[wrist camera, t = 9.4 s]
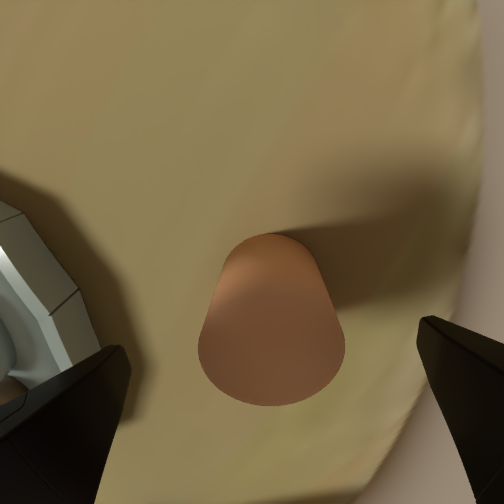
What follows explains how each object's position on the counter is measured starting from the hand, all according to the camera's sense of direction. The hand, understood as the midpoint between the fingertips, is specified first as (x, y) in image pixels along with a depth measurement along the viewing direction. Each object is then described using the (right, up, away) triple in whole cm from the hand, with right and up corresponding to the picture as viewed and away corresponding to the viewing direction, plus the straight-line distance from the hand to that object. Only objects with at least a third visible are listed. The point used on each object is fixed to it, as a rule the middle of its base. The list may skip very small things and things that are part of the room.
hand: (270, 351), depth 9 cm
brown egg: (0, +2, +4) cm, 5 cm away
